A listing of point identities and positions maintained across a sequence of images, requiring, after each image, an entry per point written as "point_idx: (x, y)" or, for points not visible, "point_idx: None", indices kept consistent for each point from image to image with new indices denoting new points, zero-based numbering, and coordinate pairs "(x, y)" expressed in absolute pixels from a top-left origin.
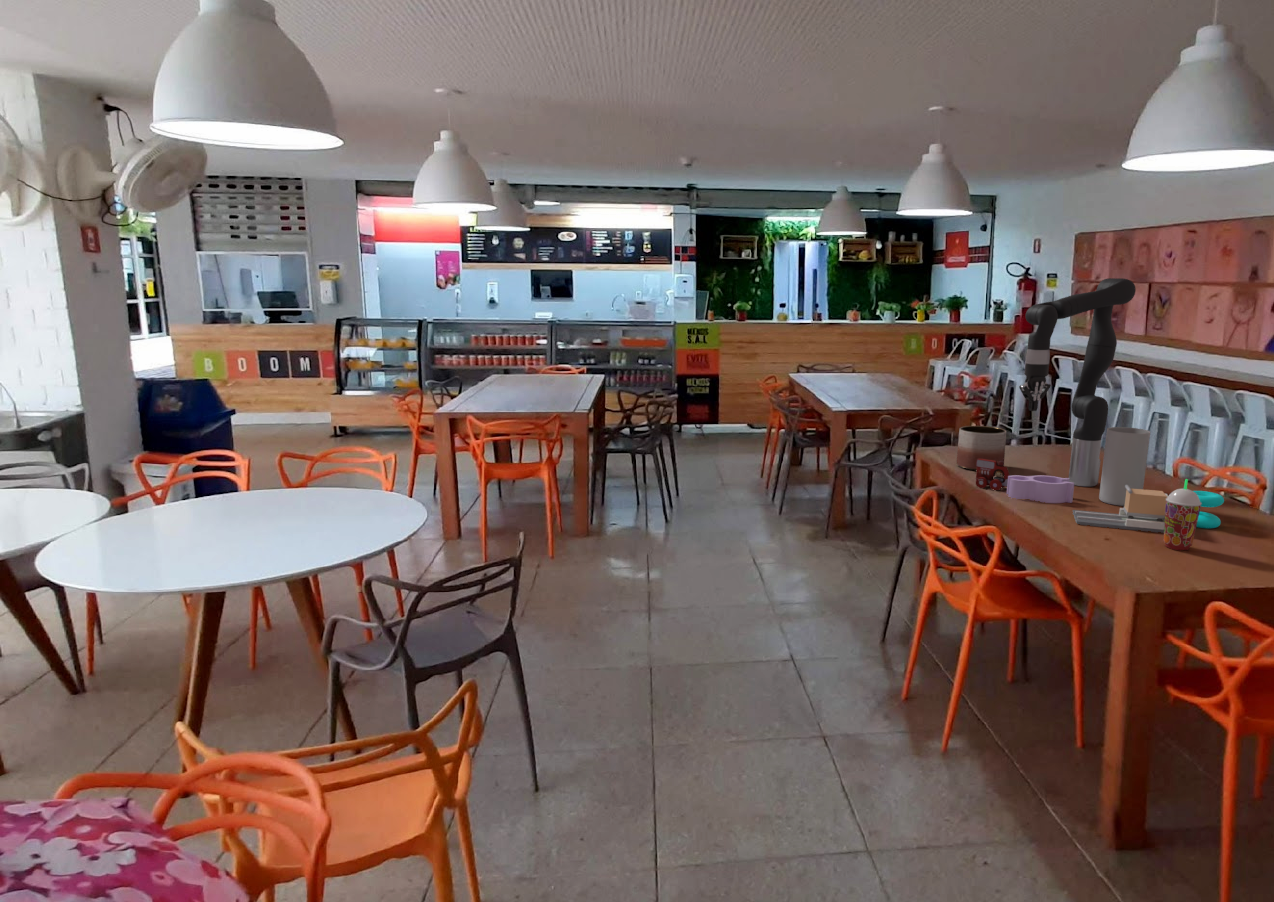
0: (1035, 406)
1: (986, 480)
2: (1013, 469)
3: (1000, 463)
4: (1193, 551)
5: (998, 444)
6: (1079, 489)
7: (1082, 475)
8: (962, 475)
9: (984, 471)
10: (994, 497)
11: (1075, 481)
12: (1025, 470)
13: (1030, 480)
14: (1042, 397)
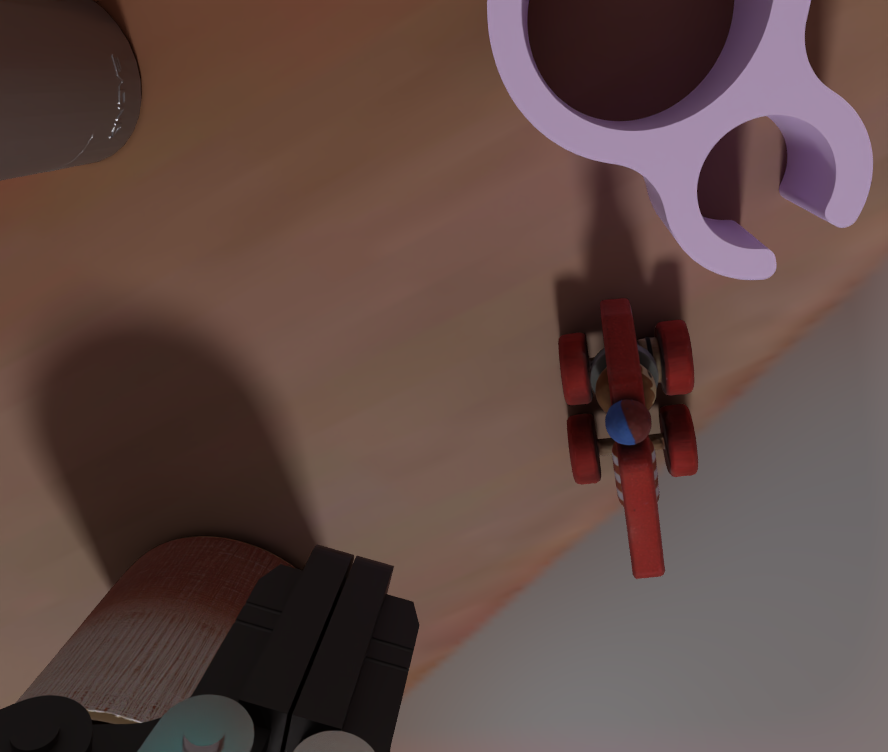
0: (341, 610)
1: (682, 421)
2: (121, 502)
3: (649, 421)
4: None
5: (173, 652)
6: (206, 5)
7: (81, 37)
8: (474, 606)
9: (655, 477)
10: (868, 257)
11: (126, 83)
12: (83, 454)
13: (795, 84)
14: (49, 715)
